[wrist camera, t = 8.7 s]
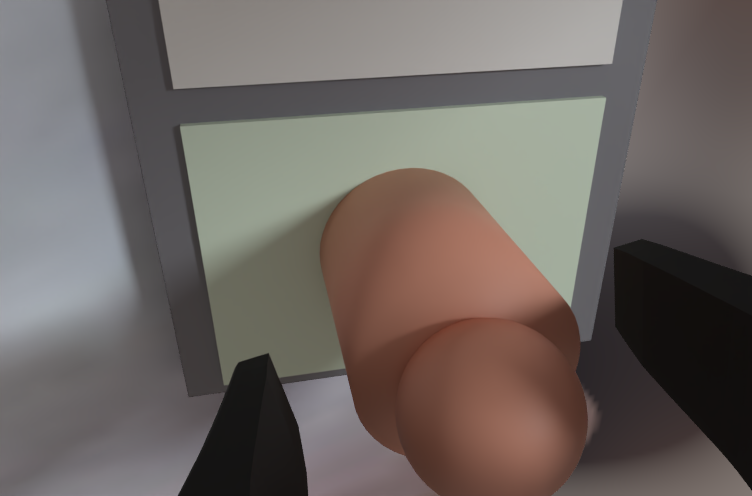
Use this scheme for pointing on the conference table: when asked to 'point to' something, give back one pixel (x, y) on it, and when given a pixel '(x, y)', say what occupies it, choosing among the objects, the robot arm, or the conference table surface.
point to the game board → (365, 146)
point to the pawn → (453, 338)
